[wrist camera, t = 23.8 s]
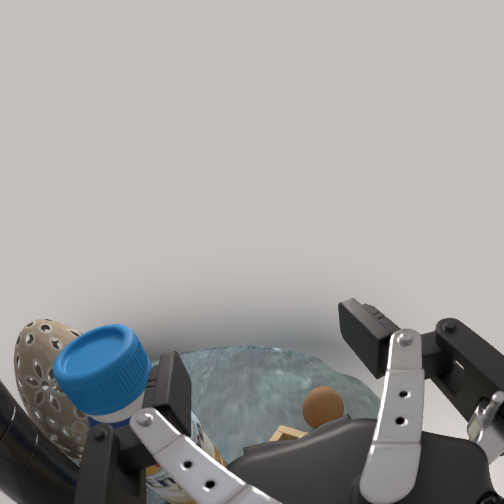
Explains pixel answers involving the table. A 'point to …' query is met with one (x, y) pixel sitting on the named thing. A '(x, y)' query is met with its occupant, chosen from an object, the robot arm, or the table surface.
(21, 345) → the ornament
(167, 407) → the robot arm
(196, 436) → the beverage bottle
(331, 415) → the egg
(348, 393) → the table surface
